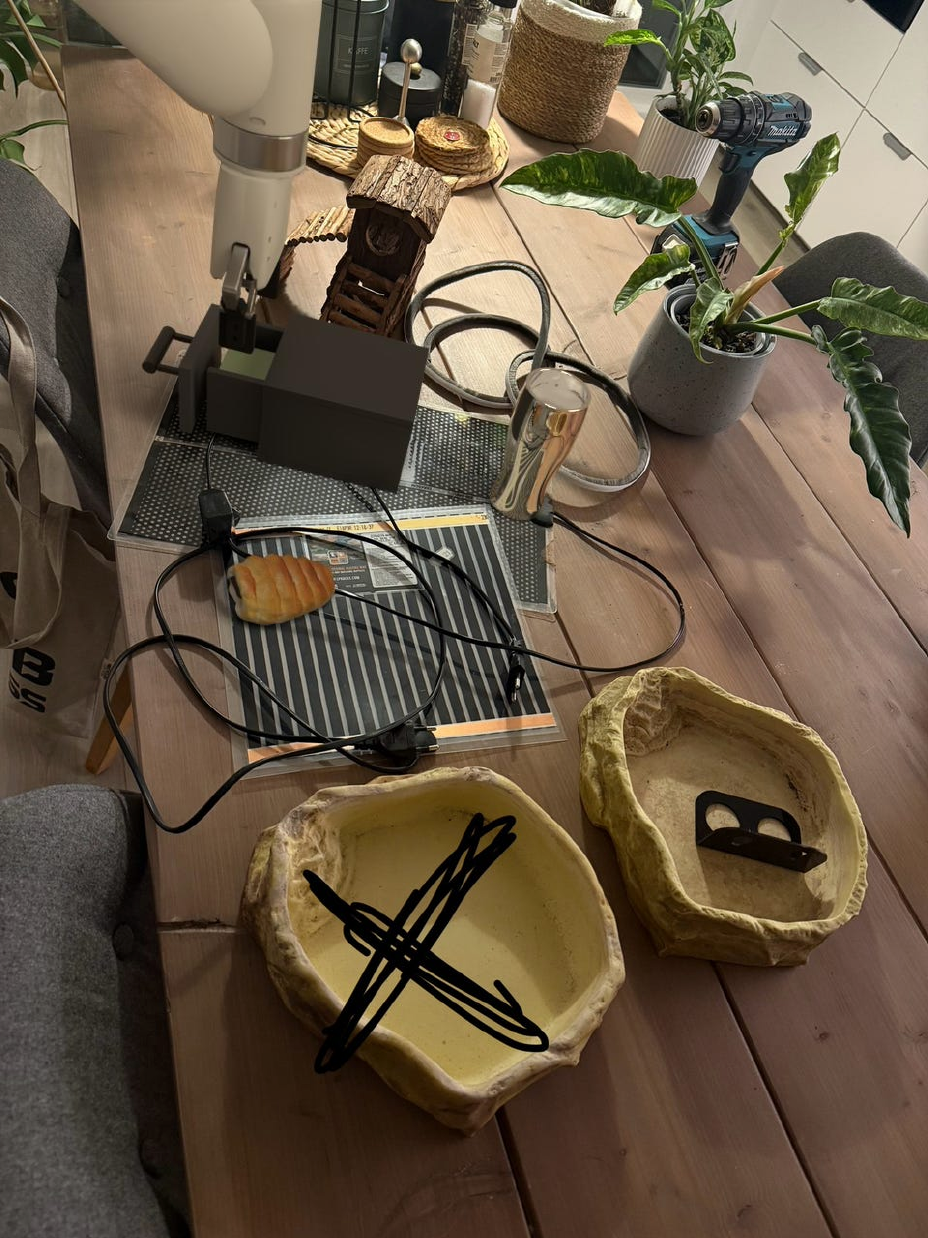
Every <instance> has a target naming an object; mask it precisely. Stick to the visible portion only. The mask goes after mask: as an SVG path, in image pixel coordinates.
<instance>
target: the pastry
mask: <svg viewBox="0 0 928 1238" xmlns="http://www.w3.org/2000/svg"><path fill="white" fill-rule="evenodd" d="M226 577H227V579H228V580H229V587H228V589H229V590H228V591H229V593H230V595H231V597H232V600H233V602H234V603H235V605H234V610H235V613H236V616H237V617H238V618H240V619H241V620H243V621H246V622H250V623H253V624H256V625H261V626H269V625H273V624H284V623H285V622H288V621H292V620H293V619H297V618H300V617H302V616H304V615H306V614H309V613H312V612H314V611H316V610H318V609H320V608H322V607H323V606H325V605H326V604H327V603H328V602H329V601H330V600H331V599H332V597H333V596H334V594H335V592H336V582H335V579H334V572H333V570H332V568H331V567H329V566H327V565H325V564H323V563H321V562H319V561H315V560H312V559H309V558H308V557H306V556H302V557H295V556H293V555H292V554H285V555H279V554H275V553H268V554H266V555H265V556H264V557H260V556H258V555H255V554H253V555H249V556H247V557H246V558H245V559H244V560H243V561H242V562H237V563H234V564H233V565H231V566H230V567H228V569H227V572H226Z"/></svg>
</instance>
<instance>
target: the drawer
mask: <svg viewBox="0 0 928 1238" xmlns="http://www.w3.org/2000/svg"><path fill="white" fill-rule="evenodd" d="M219 310H220V304H216V303H211V304H210V305H209V307H208V309H207V310H206V313H205V314H204V317H203V319H202V320H201V323H200V324H199V326H198V328H197V330H196V332H195V334H194V336H192V335H187V334H183V333H180V332H177V331H176V330H175V329H174V327H172V326H171V325H165V326H163V327H162V328H161V330H160V332H159V333H158V335H157V337H156V339H155V341H154V342H153V344H152V346H151V347H150V350H149V351H148V353H147V355H146V356H145V358H144V360H143V362H142V364H141V369H142V370H143V371H144V372H145V373H146V374H149V375H153V374H156V373H157V372H159V373H164V374H168V375H171V376H175V377H178V380H177V381H178V420H179V421H178V426H179V427H178V429H179V432H184V433H188V434H192V432H193V430H194V428H195V426H196V424H197V422H198V420H199V417H200V415H201V413H202V411H203V409H204V407H205V405H206V411H205V413H206V415H205V416H206V418H205V419H206V420H205V421H206V422H205V423H206V424H205V430H206V431H208V432H213V433H216V434H221V435H224V436H229V437H233V438H236V439H237V438H238V439H241V440H246V441H249V442H254V443H258V444H259V434H260V420H261V406H262V391H263V383H264V380H262V379H258V378H254V377H250V376H246V375H242V374H238V373H234V372H230V371H226V370H222V369H219V368H220V365H221V363H222V361H223V359H222V356H223V355H222V354H223V353H222V352H223V347H221V346H220V345H219V343H218V340H219ZM285 328H286V327H283V326H278V325H274V324H271V323H267V322H263V321H259V320H256V334H255V348H256V349H260V350H264V351H268V352H272V353H276V351H277V348H278V346H279V343H280V341H281V338H282V336H283V333H284V331H285ZM174 341H177V342H180V343H183V344H184V343H185V344H188V347H187V349H186V351H185V353H184V355H183V357H182V359H181V360H180V363H179V364H178V366H177V367H176V366H172V365H169V364H164V363H162V361H163V359H164V357H165V356H166V355H167V352H168V351H169V348H170V347H171V345H172V343H173V342H174Z"/></svg>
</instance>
